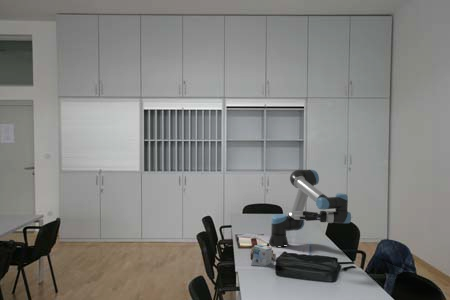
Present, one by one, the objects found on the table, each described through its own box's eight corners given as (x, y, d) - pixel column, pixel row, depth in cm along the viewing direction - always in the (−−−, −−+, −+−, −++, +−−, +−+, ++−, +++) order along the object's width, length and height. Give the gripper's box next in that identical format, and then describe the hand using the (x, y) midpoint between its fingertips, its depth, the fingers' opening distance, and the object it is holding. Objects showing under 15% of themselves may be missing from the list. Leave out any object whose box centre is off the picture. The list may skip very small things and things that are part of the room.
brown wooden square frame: (251, 252, 253) (251, 246, 253) (273, 253, 251) (273, 248, 251) (250, 259, 238) (250, 253, 238) (273, 260, 236) (273, 254, 236)
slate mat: (252, 259, 237) (252, 258, 237) (272, 261, 235) (272, 260, 235) (251, 265, 225) (251, 264, 225) (272, 267, 223) (272, 266, 223)
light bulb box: (252, 261, 232) (253, 245, 231) (259, 259, 236) (259, 243, 236) (265, 265, 224) (265, 249, 224) (271, 263, 229) (272, 247, 229)
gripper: (329, 226, 218) (294, 224, 221) (323, 218, 242) (292, 216, 245) (329, 214, 218) (295, 213, 220) (323, 207, 242) (292, 206, 245)
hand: (293, 215), depth 233 cm, fingers open, 13 cm apart
